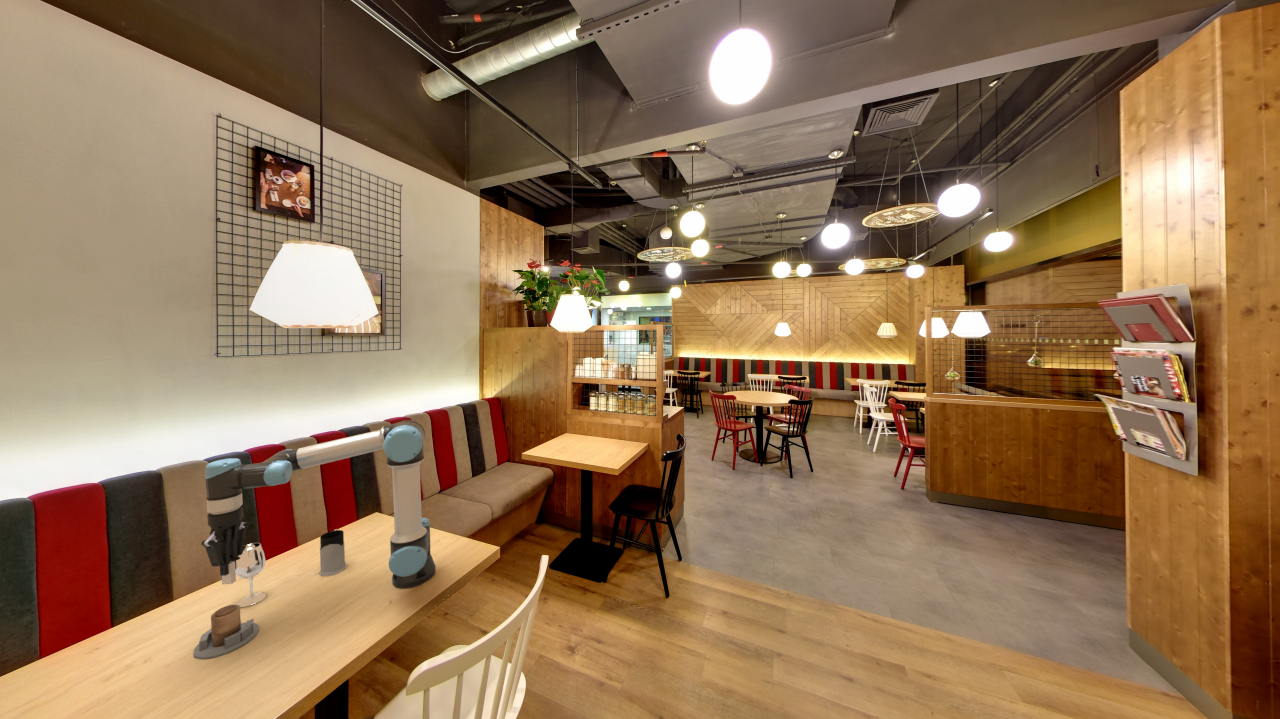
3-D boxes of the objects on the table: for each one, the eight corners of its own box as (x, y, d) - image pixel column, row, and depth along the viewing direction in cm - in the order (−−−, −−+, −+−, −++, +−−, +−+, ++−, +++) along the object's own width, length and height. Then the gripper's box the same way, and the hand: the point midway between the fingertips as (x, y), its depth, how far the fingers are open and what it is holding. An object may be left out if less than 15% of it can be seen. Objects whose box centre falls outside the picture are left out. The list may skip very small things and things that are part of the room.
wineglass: (270, 596, 141) (269, 544, 141) (242, 610, 134) (240, 554, 134) (260, 590, 145) (258, 539, 144) (232, 603, 138) (229, 549, 137)
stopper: (246, 631, 123) (245, 602, 123) (226, 646, 117) (225, 616, 117) (226, 632, 123) (225, 603, 123) (205, 647, 117) (204, 617, 117)
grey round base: (271, 623, 128) (270, 613, 128) (230, 657, 114) (229, 646, 114) (225, 625, 127) (225, 615, 127) (178, 660, 113) (178, 649, 113)
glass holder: (317, 578, 152) (316, 542, 152) (324, 561, 165) (323, 527, 164) (344, 572, 157) (343, 536, 156) (349, 555, 169) (348, 522, 169)
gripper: (232, 501, 125) (235, 571, 127) (189, 519, 112) (193, 597, 114) (257, 500, 126) (260, 569, 127) (217, 518, 113) (221, 595, 114)
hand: (229, 582), depth 120 cm, fingers closed
